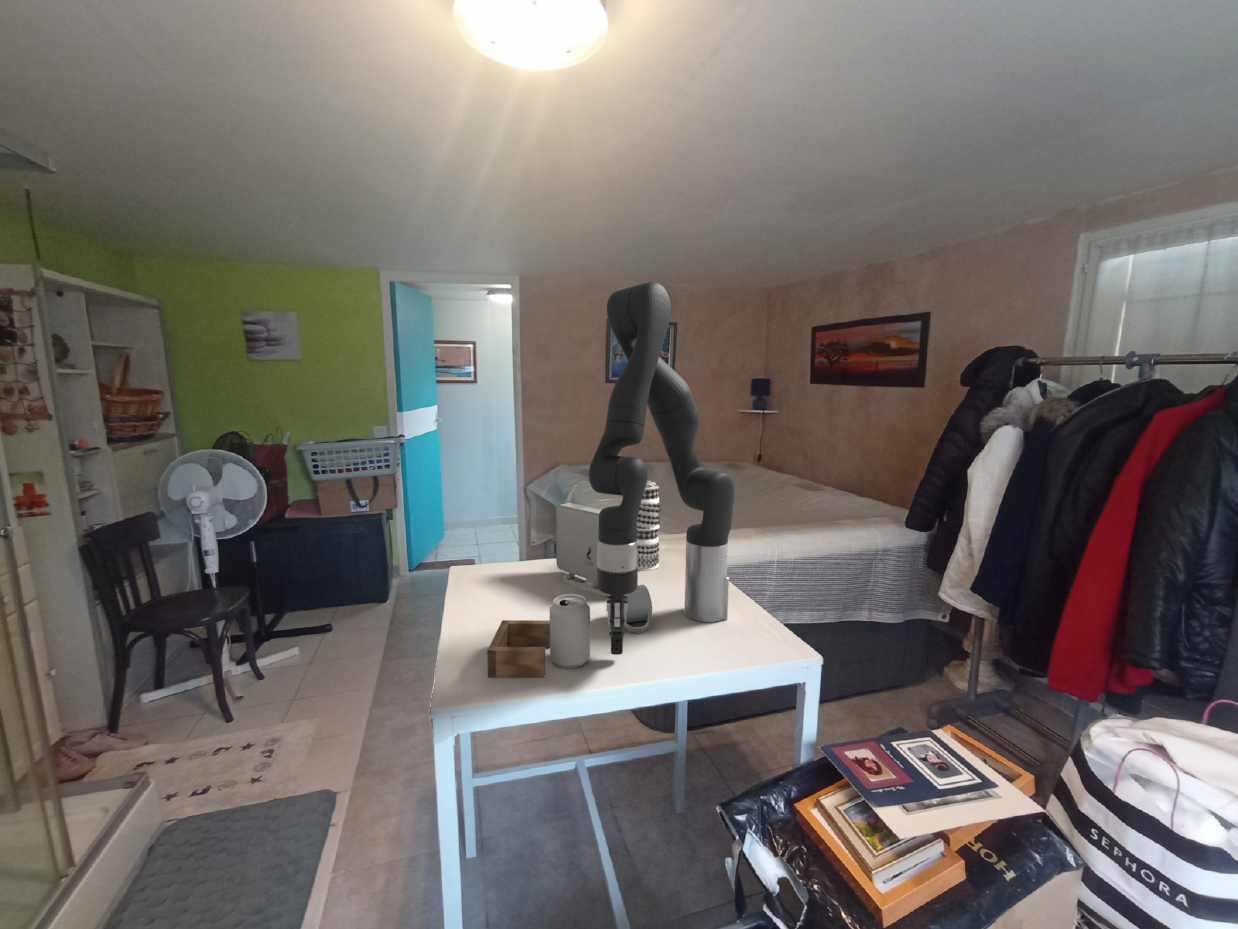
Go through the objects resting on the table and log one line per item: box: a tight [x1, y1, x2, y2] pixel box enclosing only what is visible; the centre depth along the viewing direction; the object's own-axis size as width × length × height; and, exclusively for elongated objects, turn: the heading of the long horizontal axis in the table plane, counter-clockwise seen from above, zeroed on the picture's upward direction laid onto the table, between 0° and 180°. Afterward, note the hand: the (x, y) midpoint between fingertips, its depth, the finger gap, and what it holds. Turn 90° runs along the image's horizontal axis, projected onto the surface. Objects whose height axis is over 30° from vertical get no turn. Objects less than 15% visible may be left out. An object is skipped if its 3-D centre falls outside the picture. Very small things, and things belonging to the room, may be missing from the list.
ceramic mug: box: [624, 584, 653, 634], centre depth 114 cm, size 11×8×8 cm
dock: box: [486, 619, 550, 679], centre depth 98 cm, size 10×12×5 cm
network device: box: [555, 502, 610, 597], centre depth 137 cm, size 26×9×20 cm, turn 48°
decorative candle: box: [637, 479, 662, 572], centre depth 152 cm, size 9×9×25 cm
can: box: [549, 593, 591, 669], centre depth 98 cm, size 8×8×12 cm
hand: (616, 652), depth 99 cm, fingers closed
